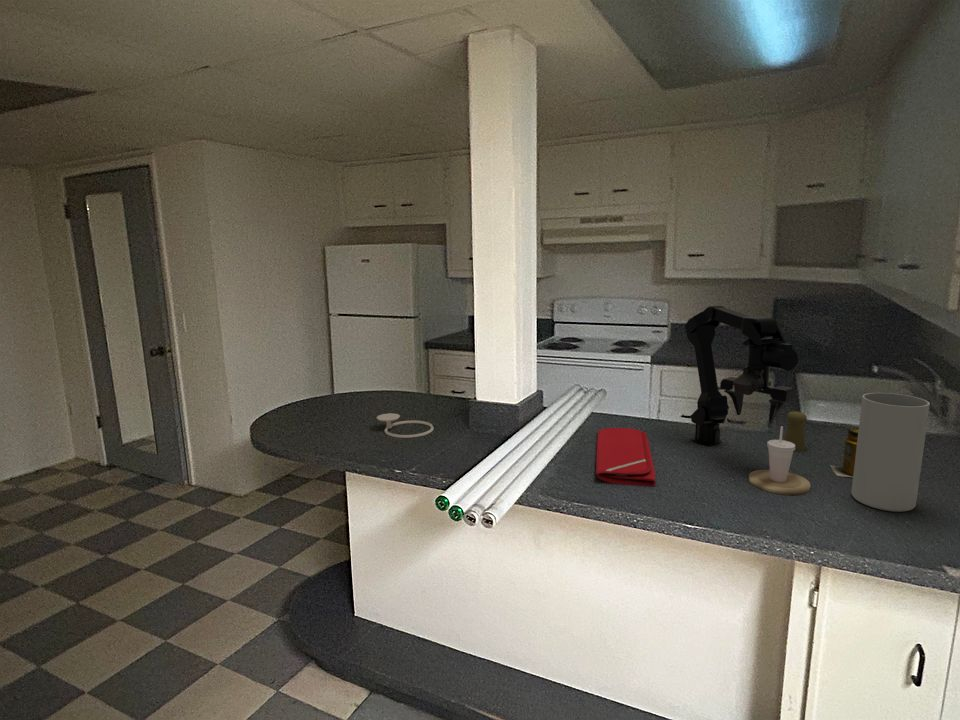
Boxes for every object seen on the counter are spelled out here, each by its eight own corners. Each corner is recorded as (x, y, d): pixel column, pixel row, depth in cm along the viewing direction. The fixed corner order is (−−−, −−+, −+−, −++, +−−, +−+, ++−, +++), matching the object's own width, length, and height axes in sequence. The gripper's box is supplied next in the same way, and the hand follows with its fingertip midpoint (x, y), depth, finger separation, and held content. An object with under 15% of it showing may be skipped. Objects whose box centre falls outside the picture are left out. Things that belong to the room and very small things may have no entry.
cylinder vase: (839, 495, 138) (850, 396, 133) (872, 486, 142) (884, 390, 138) (893, 517, 126) (907, 409, 121) (927, 506, 131) (942, 402, 126)
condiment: (874, 479, 147) (879, 435, 144) (837, 476, 149) (841, 433, 147) (865, 469, 153) (869, 427, 151) (829, 466, 156) (833, 424, 154)
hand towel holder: (419, 428, 183) (365, 422, 191) (420, 441, 184) (365, 435, 191) (441, 414, 199) (390, 409, 206) (441, 425, 200) (390, 420, 207)
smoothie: (786, 474, 148) (791, 423, 145) (796, 484, 142) (801, 431, 139) (760, 474, 149) (764, 423, 146) (769, 484, 143) (774, 430, 140)
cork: (782, 449, 170) (785, 413, 168) (782, 442, 175) (785, 408, 173) (805, 452, 167) (809, 416, 165) (805, 445, 172) (808, 410, 170)
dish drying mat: (646, 437, 184) (647, 426, 183) (657, 488, 145) (657, 475, 144) (597, 434, 188) (598, 424, 187) (594, 484, 148) (595, 470, 148)
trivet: (737, 481, 147) (738, 477, 147) (766, 468, 155) (766, 465, 155) (792, 499, 136) (792, 495, 136) (820, 485, 144) (820, 481, 143)
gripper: (710, 362, 157) (707, 416, 160) (777, 373, 142) (772, 432, 145) (732, 357, 163) (729, 409, 166) (799, 367, 148) (794, 424, 151)
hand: (754, 418), depth 157 cm, fingers open, 9 cm apart
